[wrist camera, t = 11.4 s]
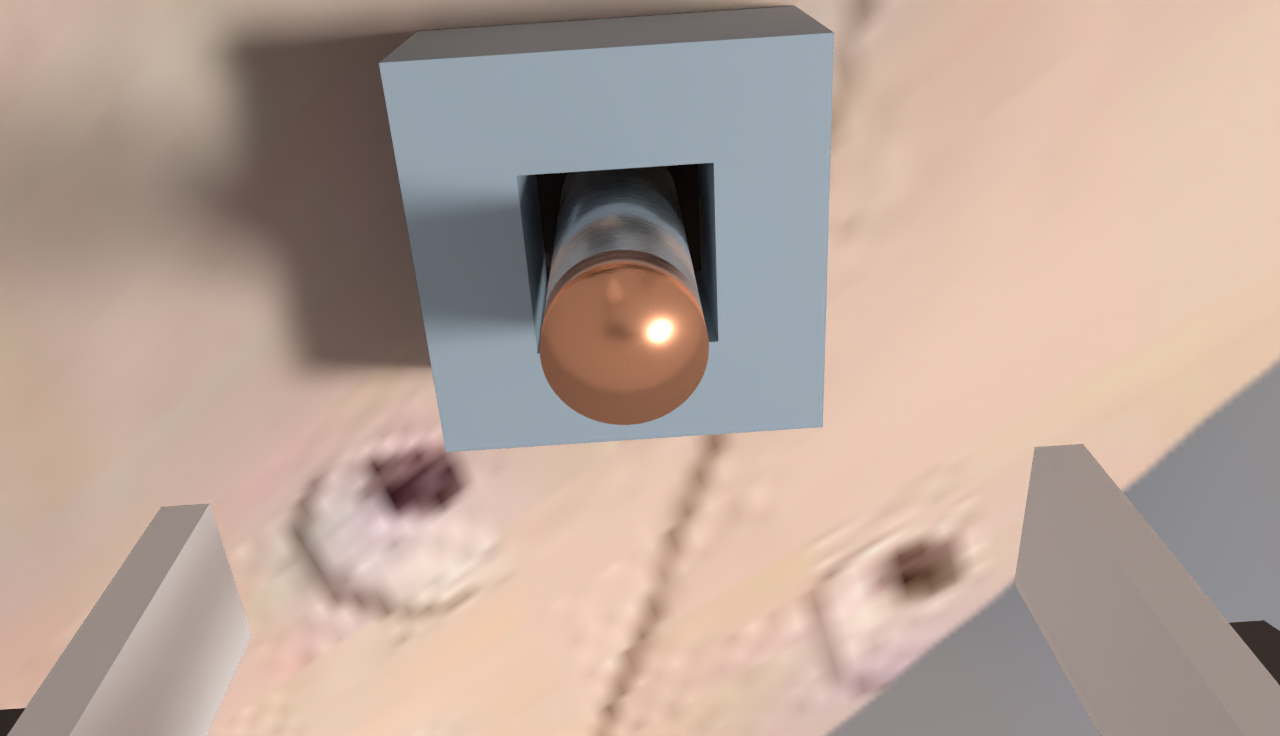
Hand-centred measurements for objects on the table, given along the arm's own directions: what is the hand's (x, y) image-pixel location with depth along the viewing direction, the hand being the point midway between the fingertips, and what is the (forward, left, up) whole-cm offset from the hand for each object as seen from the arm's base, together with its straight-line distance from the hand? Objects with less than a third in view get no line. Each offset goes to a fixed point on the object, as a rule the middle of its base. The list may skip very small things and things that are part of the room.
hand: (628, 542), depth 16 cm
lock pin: (0, 0, -20) cm, 20 cm away
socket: (0, 0, -20) cm, 20 cm away
